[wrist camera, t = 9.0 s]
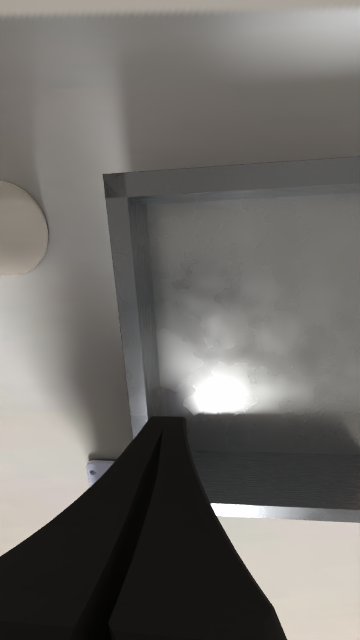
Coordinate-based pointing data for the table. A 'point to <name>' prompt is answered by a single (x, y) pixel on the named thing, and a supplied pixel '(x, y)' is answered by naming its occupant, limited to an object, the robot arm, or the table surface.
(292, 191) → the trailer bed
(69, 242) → the table surface
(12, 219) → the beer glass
